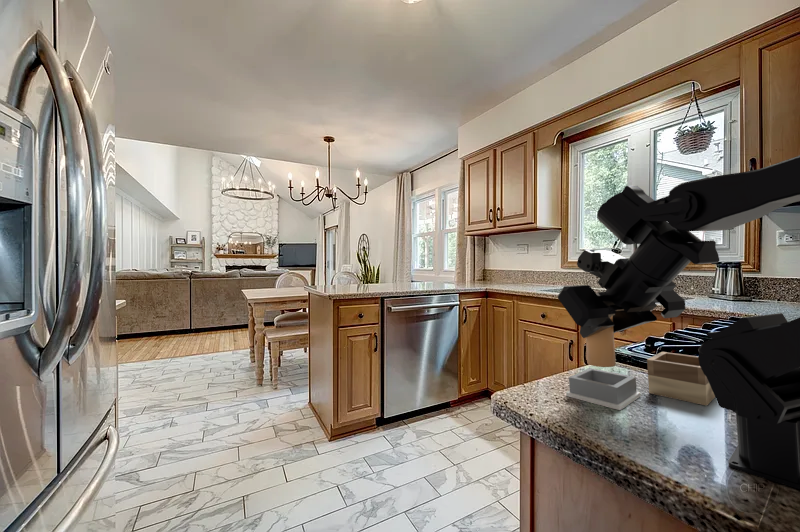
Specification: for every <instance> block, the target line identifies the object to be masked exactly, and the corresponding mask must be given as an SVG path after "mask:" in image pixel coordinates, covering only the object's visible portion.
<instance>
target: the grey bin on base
mask: <svg viewBox="0 0 800 532" xmlns="http://www.w3.org/2000/svg"><path fill="white" fill-rule="evenodd" d="M568 383H569V385H568V386H569V387H568V388H569V390H568V391H566V392H565V394H566V395H565V396H566V397H569V398H572V399H577V400H581V401H585V402H588V403H592V404H595V405H599V406H602V407H605V408H606V407H607V408H609V409H614V410H617V411H622V410H624V409H625V408H626V407H627V406H629V405H630V404H632V403H633V402H634V401H636V400H637V399H639V398H641V396H642V395H641V392H640V391H637V378H636V376H633V375H632V376H631V375H627V374H622V373H617V372H611V371H607V370H601V369H597V368H590V367H588V368H586V369H584V370H582V371H580V372H578V373H575V374H573V375H569V377H568Z"/></svg>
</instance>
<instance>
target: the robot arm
mask: <svg viewBox="0 0 800 532" xmlns="http://www.w3.org/2000/svg"><path fill="white" fill-rule="evenodd" d="M797 202H798V203H799V202H800V155H797V156H794V157H790V158H789V159H786V160H782V161H779V162H776V163H774V164H771V165H767V166H764V167H762V168H758V169H754V170H747V171H741V172H735V173H734V172H733V173H729V174H727V173H726V174H721V175H720V174H719V175H714V176H708V177H705V178H704V177H703V178H700V179H694V180H690V181H685V182H682V183H680V184H678V185H675V186H674V187H673V188H672V189H671V190H669V192H668V195H666V196H664V197H661V198H659V199H656V200H655V199H653V198H652V196H651V197H650V196H649V195H648V194H647V193H646V191H644V189H642V188H641V187H639V186H638V185H626V186H625V187H624V188H623V190H622V191H621V192H619V193H616V194H615V195H613V196H611V197H609V199H608V200H606V201H605V202H604V203H602V204H601V205H600V207H599V208H598V211H597V214H596V216H597V217H596V218H597V220H598V222H599V223H601V224H602V225H603V226H604V227H605V228H607V229H608V230H609V231H610V233H612V234H613V235H614V236H615V237H616V238H617V239H618V240H619V241H620V242H621V243H623V244H624V245H627V246H628V245H629V246H630V245H634V244H635V245H638V246H637V247H636V249H635V250H634V251H633V253H632V254H631V255H630V256H629V257H628V258H627V257H625V256H622V255H620V254H618V253H616V252H614V251H611V250H610V251H609V250H606V249H605V250H595V249H583V251H582V252H581V253H580V255H579V256H578V258H577V262H576V266H577V268H578V269H580V270H582V271H583V272H585V273H589V274H591V275H593V276H595V277H597V278H598V280H597V284H598V285H599V286H600V287H601V288H602V289H605V291H600V292H599V291H598V292H597V293H596V292H595V290H594V289H593V288H592V287H591V286H590V285H589V284H581V285H580V284H578V285H568V286H566V285H565V286H563V287H562V288H561V290H560V291H559V294H558V295H557V299H558V301H559V302H560V303H561V304H562V306H563V307H564V309H565V310H566V312H567V313H568V314H569V316H570V317H571V319H572V320H573V321H574V323H575V324H576V325H577V326H579V327H580V328H579V329H580V330H579V335H580V336H581V337H582V338H583V339H586V337H589V336H591V335H594V334H596V333H598V332H600V331H602V330H605V329H607V328H609V327H611V326H613V330H614V334H615V333H619V332H622V331H625V330H629V329H631V328H635V327H638V326H642V325H645V324H648V323H652V322H656V321H657V320H658V317H657V316H656V315H655V314H654V313H653V310H654V309H656V307H657V306H658V305H657V304H660V305H661V306H662V307H663V310H662V311H661V312H660V315H661V316H662V317H663V318H664V319H669V318H677V317H679V316H680V315H681V314H682V313H683V312H684V311H685V310H686V300H685V299H684V298H683V297H682V296H681V295H679V294H678V293H677V292H676V291H675V290H674V289H675V288H676V287H677V284H676V283H675V282H674V280H675V279H676V277H678V275H679V274H680V273H681V272H683V270H684V269H685V268H686V267H687V266H688V265H689V264H690V263H692V264H694V265H706V264H718V263H719V262H720V257H719V252H718V250H717V248H716V244H717V242H716V240H702V239H700V238H699V237H698V236H697V235H695V234H693V233H692V232H715V231H720V232H721V231H728V230H731V229H735V228H738V227H740V226H742V225H745V224H747V223H750V222H752V221H755V220H758V219H760V218H763V217H764V216H767V215H768V214H770V213H772V212H773V211H776V210H777V209H779V208H782V207H785V206H788V205H790V204H792V203H797ZM612 315H613V322H612V320H611V319H610V317H611V316H612ZM705 334H706V336H707V337H709V339H707V340H705V341H704V342H702V343H701V345H700V346H699V347H698V349H697V350H698V359H699V364H700V367H701V369H702V371H703V373H704V375H705V376H706V377H707V379H708V381H709V384H710V386H711V388H712V391H713V393H714V395H715V400H716V402H717V404H718V407H720V408H721V409H726V410H729V411H731V412H733V413H735V415H736V417H735V418H736V433H737V435H736V436H737V446H736V447H735V449H734V451H733V452H732V454H731V456H730V458H729V459H728V466H729V467H730V468H732V469H734V470H737V471H741V472H744V473H747V474H749V475H753V476H755V477H759V478H763V479H766V480H769V481H772V482H775V483H778V484H781V485H785V486H788V487H791V488H793V489H798V490H800V317H797V318H795V319H792V320H790V321H788V320H787V318H786V317H785V315H784V314H783V313H782V312H779V313H771V314H760V315H753V316H744V317H742V318H740V319H738V320H736V321H734V322H732V323H731V324H730V325H728V326H727V327H725V328H724V329H722V330H720V331H713V332H712V331H711V332H707V333H705Z"/></svg>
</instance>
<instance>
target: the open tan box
mask: <svg viewBox="0 0 800 532" xmlns="http://www.w3.org/2000/svg"><path fill="white" fill-rule="evenodd" d="M698 356H699V355H698ZM698 356H697V355H689V354H682V353H673V352H667V351H661V352H659V353H656V354H655V355H653V356H651V357H649V358H647V359H646V363H647V366H646V367H647V378H648V382H647V383H648V393H649V394H651V395H655V396H660V397H661V396H662V397H666V398H669V399H675V400H678V401H683V402H688V403H692V404H698V405H701V406H702V405H703V406H709V404H710V403H711V402H712V401H713V400H714V399H716V397H715V395H714V393H713V391H712V388H711V386H710V384H709V381H708V379H707V377H706V376H705V375H704V373H703V371H702V369H701V367H700V364H699V359H698Z"/></svg>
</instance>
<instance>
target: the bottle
mask: <svg viewBox="0 0 800 532" xmlns="http://www.w3.org/2000/svg"><path fill="white" fill-rule="evenodd" d="M610 319H611V320H612V322H613V315H612V316H611V317H610ZM614 334H615V333H614V330H613V326H611V327H609V328H607V329H605V330H602V331H600V332H598V333H596V334H594V335H591V336H589V337H586V338H585V345H586V347H585V348H586V349H585V350H586V362H587V365H589V366H592V367H598V368H599V367H600V368H612V367H615V366H617V364H616V362H617V361H616V347H615V335H614Z"/></svg>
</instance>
